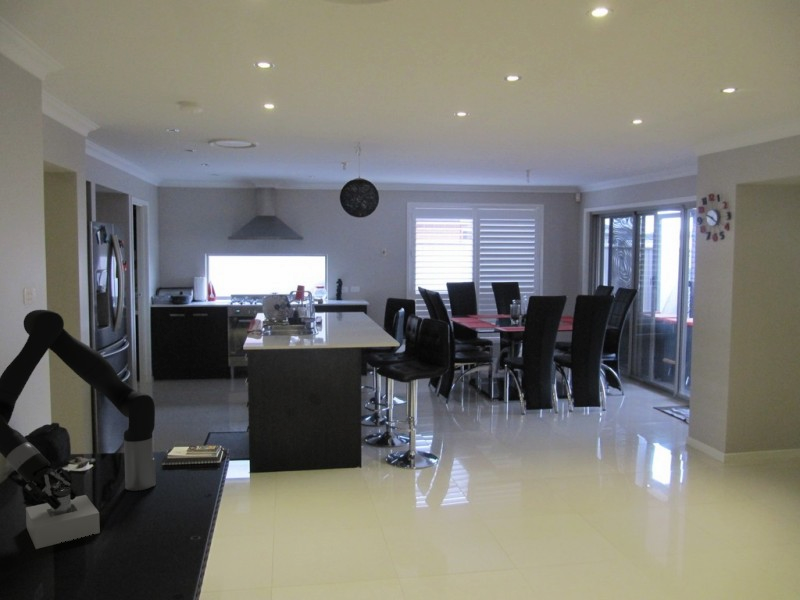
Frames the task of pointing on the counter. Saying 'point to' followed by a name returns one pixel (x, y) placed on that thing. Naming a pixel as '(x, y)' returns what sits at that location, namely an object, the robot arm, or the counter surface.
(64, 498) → the lens
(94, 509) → the grey block with recess
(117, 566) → the counter surface
